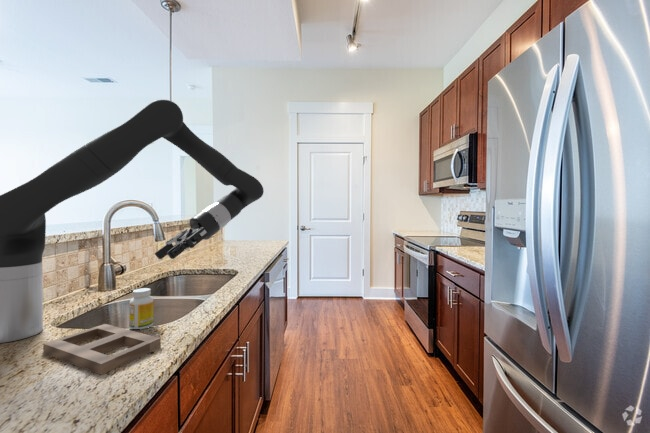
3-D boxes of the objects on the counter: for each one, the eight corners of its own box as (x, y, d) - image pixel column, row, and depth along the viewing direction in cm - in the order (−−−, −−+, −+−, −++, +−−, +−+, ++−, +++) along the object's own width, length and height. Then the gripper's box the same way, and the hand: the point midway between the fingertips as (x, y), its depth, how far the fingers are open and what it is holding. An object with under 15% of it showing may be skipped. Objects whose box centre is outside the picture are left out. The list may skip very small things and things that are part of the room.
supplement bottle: (124, 330, 74) (124, 293, 73) (136, 322, 79) (136, 287, 79) (147, 330, 74) (147, 292, 74) (157, 322, 80) (157, 287, 79)
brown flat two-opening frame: (43, 353, 62) (43, 343, 62) (105, 331, 73) (104, 323, 73) (101, 374, 54) (101, 364, 54) (160, 347, 65) (160, 338, 65)
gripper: (192, 212, 89) (144, 246, 79) (215, 206, 80) (163, 243, 69) (207, 232, 92) (162, 267, 82) (230, 228, 83) (183, 267, 72)
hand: (163, 256), depth 75 cm, fingers open, 8 cm apart
